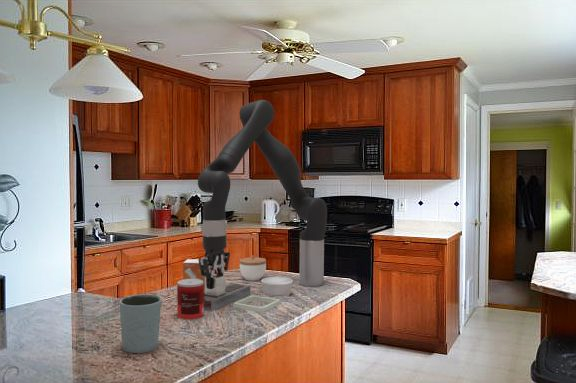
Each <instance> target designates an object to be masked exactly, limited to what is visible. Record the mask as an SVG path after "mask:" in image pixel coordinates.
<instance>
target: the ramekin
mask: <svg viewBox="0 0 576 383" xmlns="http://www.w3.org/2000/svg"><path fill="white" fill-rule="evenodd" d="M260 283H261V288H262V293H263V294H264V295H269V296H287V297H288V296H290V295H291V293H292V288H293V284H294V281H293V279H292V278H290V277H286V276H269V277H264V278H261V279H260Z"/></svg>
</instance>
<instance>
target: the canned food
mask: <svg viewBox="0 0 576 383" xmlns="http://www.w3.org/2000/svg"><path fill="white" fill-rule="evenodd" d="M176 292H177V293H176V294H177V296H176V300H177V301H176V302H177V303H176V305H177V318H179V319H182V320H196V319H201V318H202V317H204V316H205V315H204V312H205V310H204V283H203V280H200V279H184V280H183V279H180V280H178V281H177V287H176Z"/></svg>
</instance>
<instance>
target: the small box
mask: <svg viewBox="0 0 576 383" xmlns="http://www.w3.org/2000/svg"><path fill="white" fill-rule="evenodd" d="M198 260H199V258H197V259H194V258H193V259H190V258H188V259H186V260H185V261H184V262H182V280H184V279H200V280H203V283H204V293H205V276H202V275H201V271H200V266H199V261H198ZM209 267H211V266H209ZM204 272H205V270H204ZM209 272H211V270H209Z"/></svg>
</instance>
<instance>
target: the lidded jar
mask: <svg viewBox="0 0 576 383" xmlns="http://www.w3.org/2000/svg"><path fill="white" fill-rule="evenodd" d="M266 270H267V259H265V258H264V257H255V255H251V256H250V257H244V258H241V259H239V272H240V274H241V276H242V277H243V278H244V280H245V281H251V282H256V281H259V280H260V281H261V279H262V277H263V276H264V275H265V273H266Z"/></svg>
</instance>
